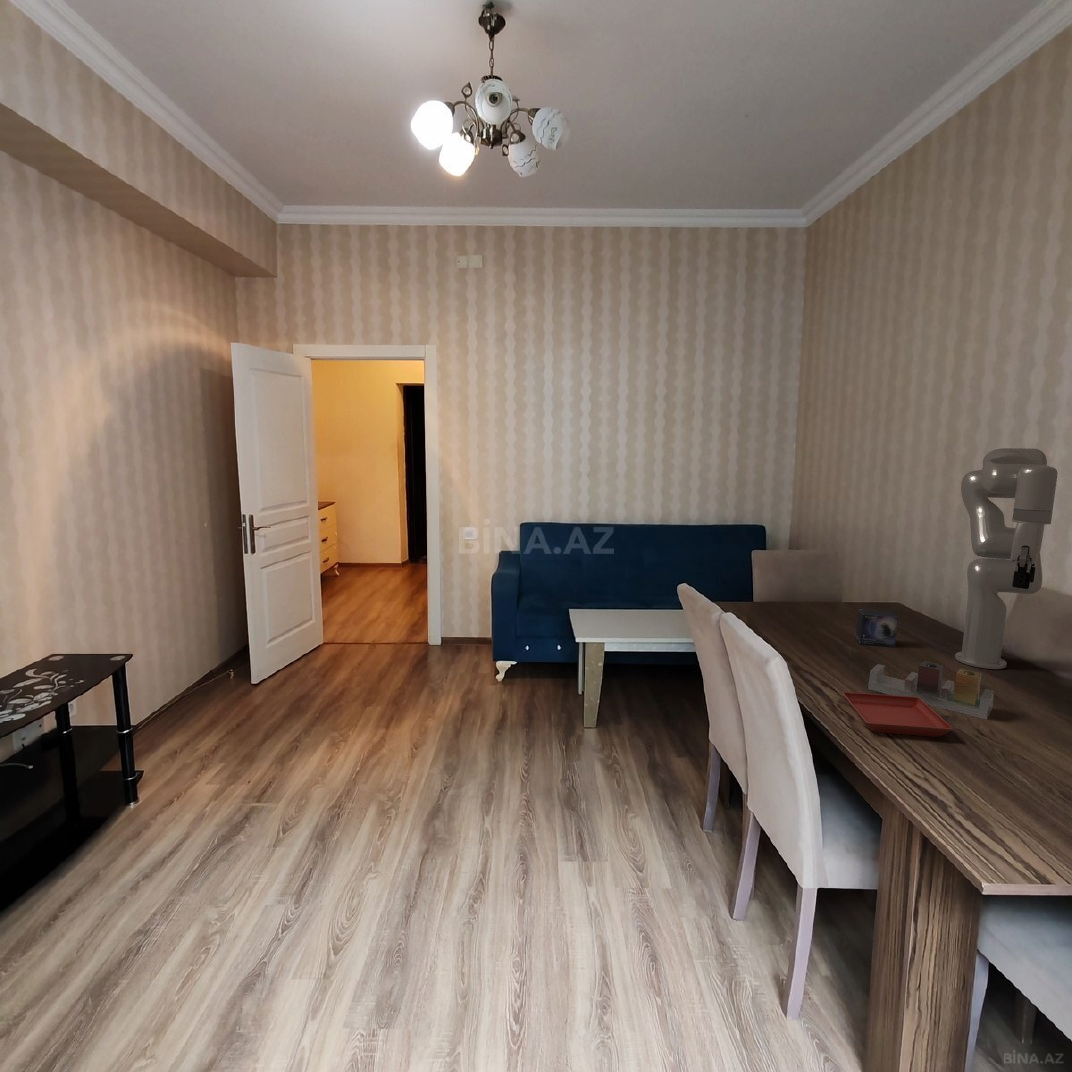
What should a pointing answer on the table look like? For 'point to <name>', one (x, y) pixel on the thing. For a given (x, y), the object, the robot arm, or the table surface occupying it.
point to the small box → (876, 628)
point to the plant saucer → (897, 714)
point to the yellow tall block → (967, 686)
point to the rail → (942, 700)
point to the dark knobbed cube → (929, 678)
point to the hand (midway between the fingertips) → (1022, 584)
